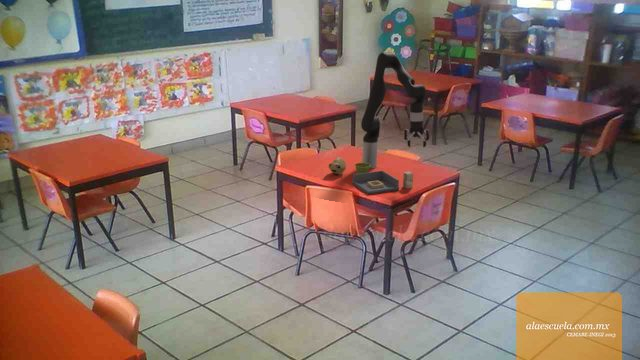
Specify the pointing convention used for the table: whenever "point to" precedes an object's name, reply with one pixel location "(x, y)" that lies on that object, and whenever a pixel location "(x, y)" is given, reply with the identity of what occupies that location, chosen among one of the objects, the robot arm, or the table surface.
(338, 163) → the toy pig
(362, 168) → the plant pot
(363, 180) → the walled box
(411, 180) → the connector
